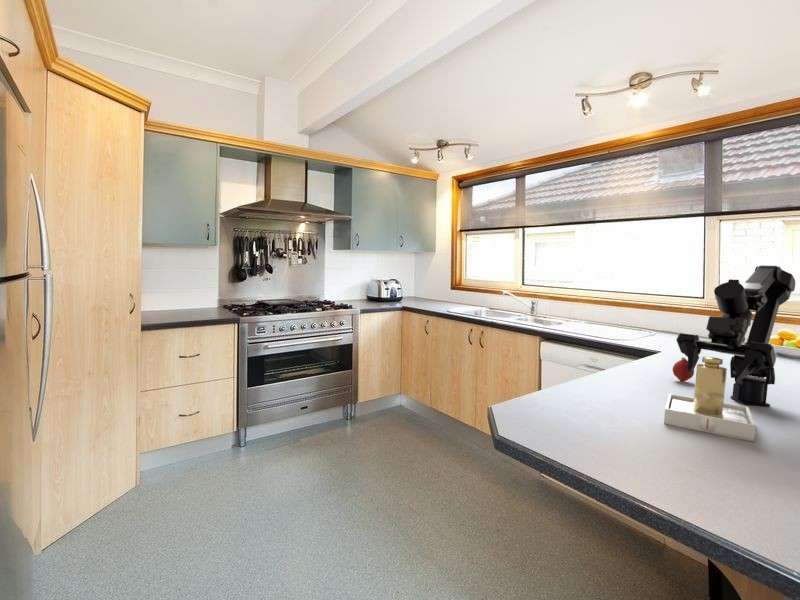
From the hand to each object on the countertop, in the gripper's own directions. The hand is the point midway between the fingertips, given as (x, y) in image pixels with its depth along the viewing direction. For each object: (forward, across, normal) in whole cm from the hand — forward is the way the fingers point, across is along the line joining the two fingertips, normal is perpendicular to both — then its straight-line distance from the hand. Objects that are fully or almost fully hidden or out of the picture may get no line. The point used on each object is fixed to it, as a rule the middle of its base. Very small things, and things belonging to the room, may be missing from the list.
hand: (711, 376), depth 100 cm
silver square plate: (+7, 0, +6) cm, 9 cm away
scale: (+8, 0, +7) cm, 11 cm away
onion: (-19, -20, +35) cm, 45 cm away
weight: (+6, 0, +5) cm, 8 cm away
